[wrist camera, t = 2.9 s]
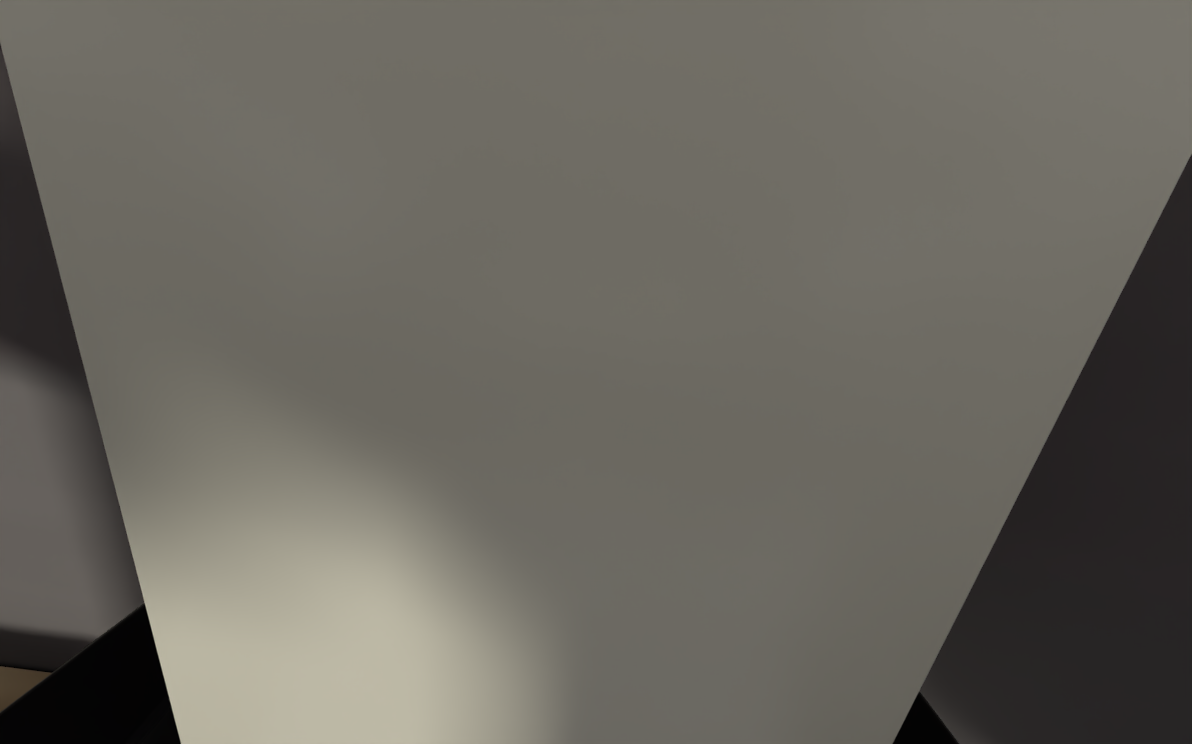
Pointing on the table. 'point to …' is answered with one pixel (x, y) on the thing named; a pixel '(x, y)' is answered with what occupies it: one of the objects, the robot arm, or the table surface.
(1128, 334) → the table surface
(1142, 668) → the table surface
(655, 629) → the long ivory plank
